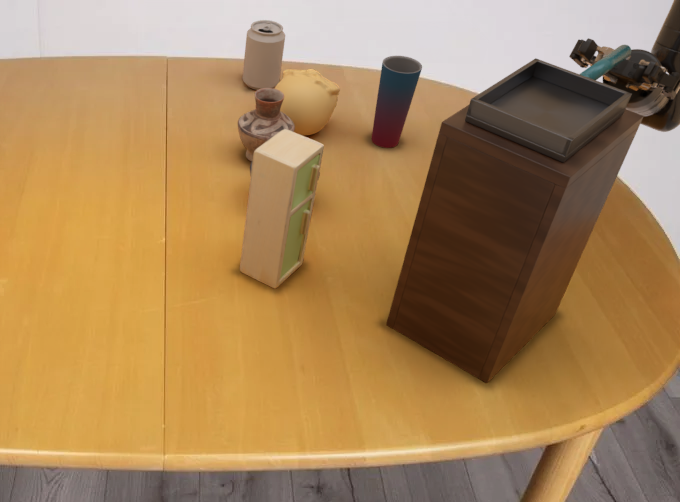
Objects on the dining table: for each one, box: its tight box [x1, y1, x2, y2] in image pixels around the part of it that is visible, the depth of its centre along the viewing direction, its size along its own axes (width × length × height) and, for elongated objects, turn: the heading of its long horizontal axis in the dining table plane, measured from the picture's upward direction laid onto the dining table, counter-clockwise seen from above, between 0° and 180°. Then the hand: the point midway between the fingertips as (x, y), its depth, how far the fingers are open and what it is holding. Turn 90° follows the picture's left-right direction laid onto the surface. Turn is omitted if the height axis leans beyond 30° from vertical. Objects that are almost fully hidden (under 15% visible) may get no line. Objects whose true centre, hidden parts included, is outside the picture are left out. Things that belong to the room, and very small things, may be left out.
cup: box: [370, 55, 423, 149], centre depth 156 cm, size 7×7×15 cm
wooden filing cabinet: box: [385, 104, 643, 384], centre depth 114 cm, size 20×16×32 cm
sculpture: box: [274, 68, 341, 136], centre depth 160 cm, size 12×12×11 cm
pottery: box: [237, 87, 321, 180], centre depth 146 cm, size 11×25×12 cm, turn 9°
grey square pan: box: [465, 44, 632, 162], centre depth 106 cm, size 30×12×3 cm, turn 136°
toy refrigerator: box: [239, 129, 325, 289], centre depth 125 cm, size 8×7×21 cm
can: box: [241, 19, 286, 91], centre depth 172 cm, size 8×8×12 cm
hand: (617, 57), depth 113 cm, fingers open, 8 cm apart
